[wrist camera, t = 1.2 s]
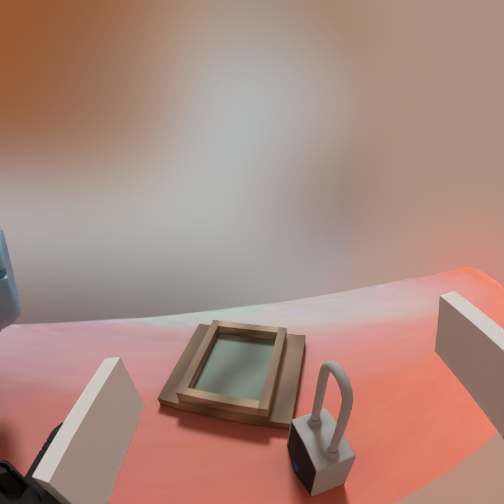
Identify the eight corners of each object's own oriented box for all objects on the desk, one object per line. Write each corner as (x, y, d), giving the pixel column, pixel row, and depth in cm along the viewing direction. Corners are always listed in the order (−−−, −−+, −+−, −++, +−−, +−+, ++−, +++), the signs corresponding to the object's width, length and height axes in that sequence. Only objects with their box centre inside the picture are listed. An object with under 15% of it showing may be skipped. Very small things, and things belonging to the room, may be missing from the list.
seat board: (160, 404, 31) (154, 390, 30) (200, 330, 43) (197, 315, 42) (290, 429, 28) (291, 416, 26) (304, 341, 40) (305, 327, 38)
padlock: (282, 445, 26) (286, 343, 19) (320, 432, 27) (342, 327, 20) (307, 498, 20) (333, 423, 13) (348, 481, 21) (397, 394, 14)
